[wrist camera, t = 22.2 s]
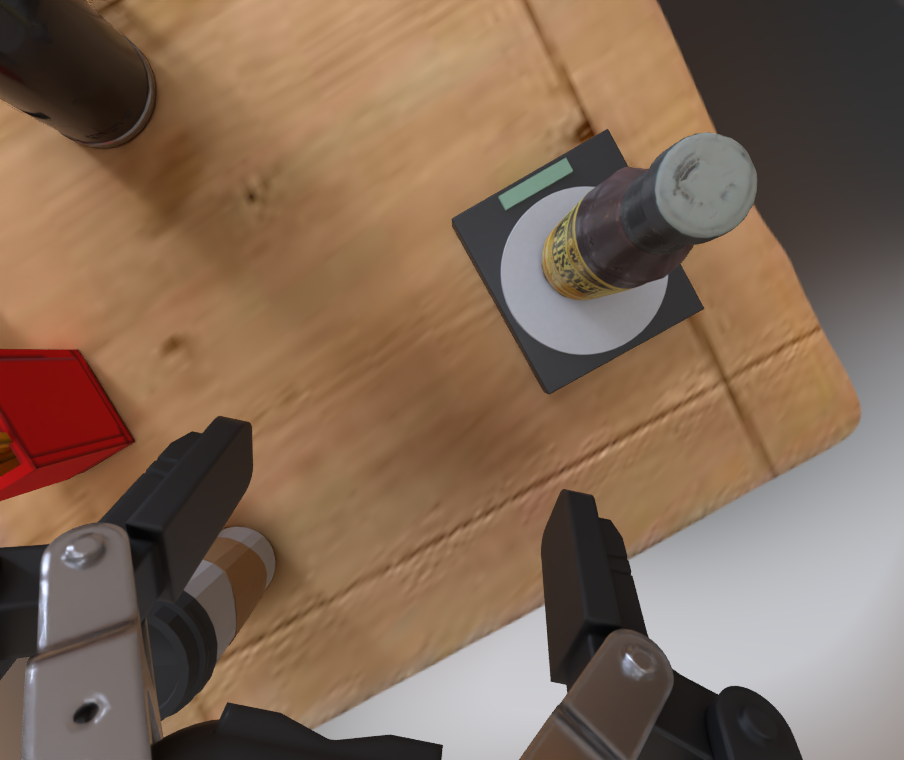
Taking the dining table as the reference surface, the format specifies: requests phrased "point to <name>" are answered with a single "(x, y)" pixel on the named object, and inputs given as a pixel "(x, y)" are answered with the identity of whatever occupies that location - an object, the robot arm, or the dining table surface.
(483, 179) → the dining table surface
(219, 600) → the coffee cup
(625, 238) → the sauce bottle
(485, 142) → the dining table surface
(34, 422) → the french fries container
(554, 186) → the kitchen scale
